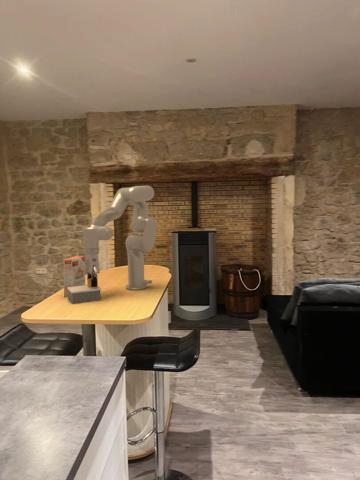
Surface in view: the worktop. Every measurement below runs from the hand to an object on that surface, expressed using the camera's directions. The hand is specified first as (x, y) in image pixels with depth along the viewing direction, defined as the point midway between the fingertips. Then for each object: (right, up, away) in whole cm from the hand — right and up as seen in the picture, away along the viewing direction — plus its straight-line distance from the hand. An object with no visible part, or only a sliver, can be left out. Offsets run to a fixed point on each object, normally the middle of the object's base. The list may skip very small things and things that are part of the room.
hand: (92, 285), depth 183 cm
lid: (-4, -3, -2) cm, 5 cm away
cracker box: (-12, -7, +10) cm, 17 cm away
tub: (-4, -8, -1) cm, 9 cm away
